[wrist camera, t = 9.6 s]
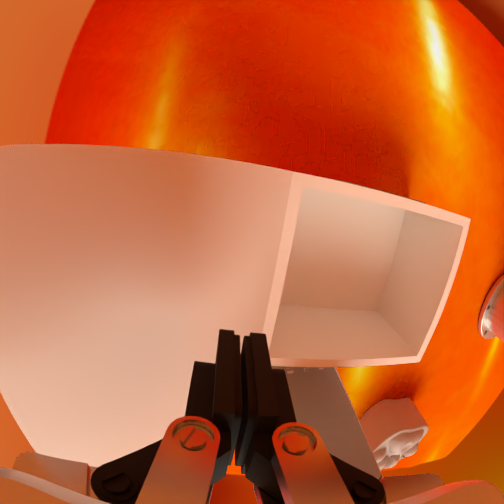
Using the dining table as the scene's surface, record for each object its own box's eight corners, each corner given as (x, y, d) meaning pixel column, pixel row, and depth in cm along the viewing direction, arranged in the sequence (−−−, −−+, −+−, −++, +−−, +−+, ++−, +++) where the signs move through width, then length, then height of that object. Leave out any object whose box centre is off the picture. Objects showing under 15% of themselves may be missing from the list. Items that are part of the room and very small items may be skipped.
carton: (409, 199, 28) (470, 217, 18) (377, 314, 32) (419, 362, 22) (269, 167, 26) (292, 169, 16) (247, 304, 30) (254, 364, 20)
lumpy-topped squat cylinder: (417, 396, 38) (440, 428, 30) (382, 441, 42) (397, 472, 34) (373, 399, 37) (394, 438, 29) (338, 446, 40) (351, 482, 32)
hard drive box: (253, 338, 31) (278, 503, 12) (319, 329, 32) (390, 474, 13) (262, 421, 36) (280, 542, 17) (314, 413, 36) (350, 527, 17)
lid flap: (-45, 149, 3) (-44, 150, 3) (73, 498, 7) (65, 488, 7) (293, 171, 16) (282, 169, 17) (255, 366, 20) (247, 362, 20)
